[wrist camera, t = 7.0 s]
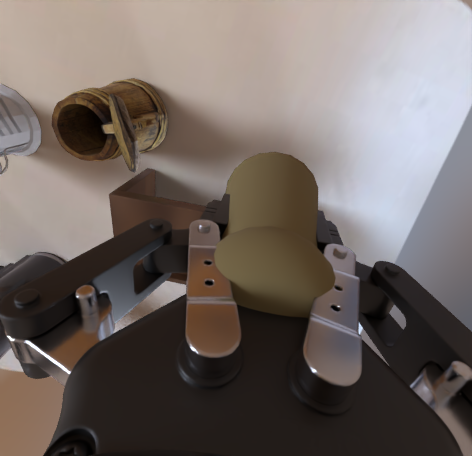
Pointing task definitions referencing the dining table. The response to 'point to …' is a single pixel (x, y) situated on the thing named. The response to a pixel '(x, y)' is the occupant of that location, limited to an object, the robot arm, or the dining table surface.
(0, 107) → the french press
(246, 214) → the olive green peg figure
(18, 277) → the robot arm
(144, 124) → the wooden mug
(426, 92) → the dining table surface
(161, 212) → the brown wooden shelf
